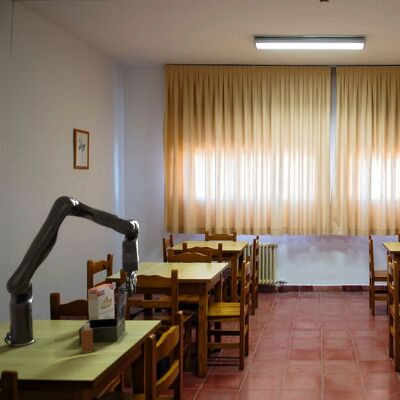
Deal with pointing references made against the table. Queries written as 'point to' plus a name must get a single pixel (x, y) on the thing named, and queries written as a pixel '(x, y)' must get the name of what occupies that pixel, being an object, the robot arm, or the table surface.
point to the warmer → (105, 330)
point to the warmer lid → (121, 303)
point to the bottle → (87, 338)
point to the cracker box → (101, 302)
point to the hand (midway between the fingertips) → (131, 295)
